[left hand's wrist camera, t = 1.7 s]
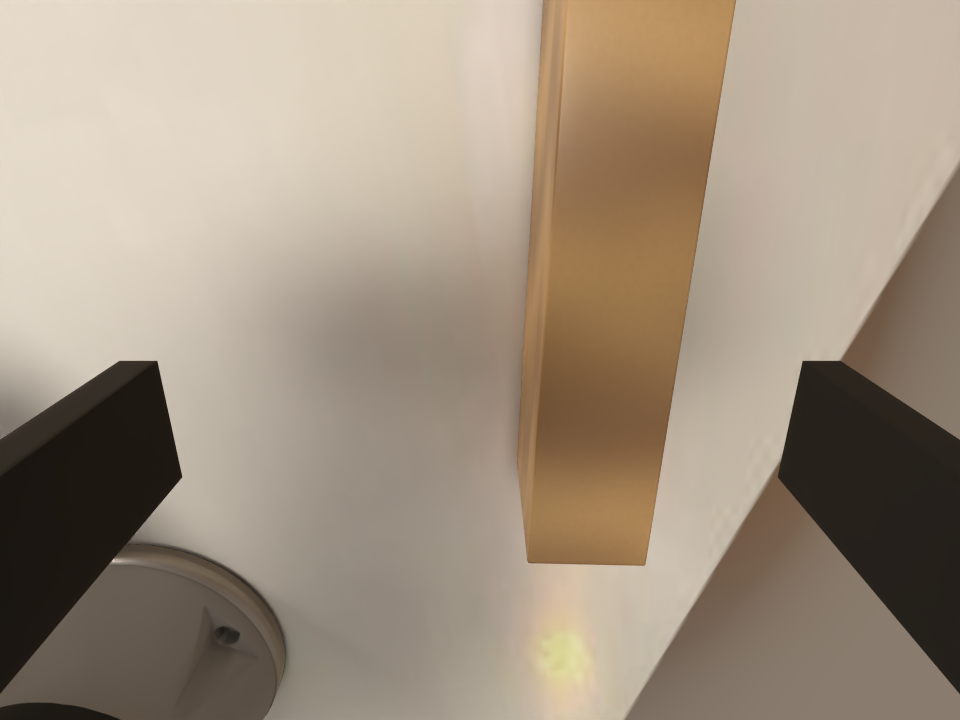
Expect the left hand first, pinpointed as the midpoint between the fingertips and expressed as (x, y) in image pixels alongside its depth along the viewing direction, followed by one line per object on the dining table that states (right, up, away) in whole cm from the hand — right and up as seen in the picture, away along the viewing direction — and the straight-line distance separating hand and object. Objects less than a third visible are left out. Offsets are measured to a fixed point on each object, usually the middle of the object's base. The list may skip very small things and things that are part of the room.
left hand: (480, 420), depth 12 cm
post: (+5, +28, +7) cm, 30 cm away
